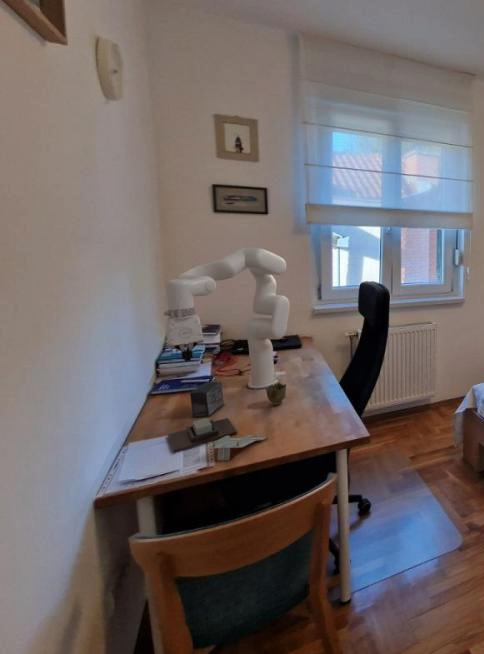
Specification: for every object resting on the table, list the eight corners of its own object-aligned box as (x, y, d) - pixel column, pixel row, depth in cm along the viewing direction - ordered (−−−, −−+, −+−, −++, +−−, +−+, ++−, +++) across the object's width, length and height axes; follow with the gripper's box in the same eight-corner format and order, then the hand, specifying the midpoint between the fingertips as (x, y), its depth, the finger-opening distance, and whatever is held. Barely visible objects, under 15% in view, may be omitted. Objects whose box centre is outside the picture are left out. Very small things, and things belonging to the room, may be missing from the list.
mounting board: (228, 420, 159) (227, 414, 158) (236, 433, 149) (236, 427, 148) (168, 436, 146) (167, 430, 146) (173, 453, 136) (173, 446, 136)
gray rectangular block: (208, 426, 152) (207, 417, 151) (212, 433, 147) (211, 424, 146) (193, 430, 148) (192, 421, 148) (197, 438, 144) (196, 428, 143)
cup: (291, 402, 174) (290, 384, 173) (275, 409, 168) (274, 391, 166) (279, 399, 177) (277, 381, 176) (263, 406, 171) (261, 387, 169)
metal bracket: (247, 441, 133) (198, 443, 131) (246, 460, 132) (196, 462, 131) (268, 431, 147) (224, 432, 146) (267, 448, 146) (222, 450, 145)
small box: (208, 405, 171) (205, 381, 169) (224, 405, 171) (222, 381, 170) (191, 417, 160) (188, 392, 159) (209, 417, 161) (206, 391, 159)
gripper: (157, 318, 143) (163, 368, 146) (208, 311, 153) (213, 358, 156) (154, 314, 148) (160, 362, 151) (204, 307, 158) (209, 353, 161)
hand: (187, 360), depth 153 cm, fingers closed
